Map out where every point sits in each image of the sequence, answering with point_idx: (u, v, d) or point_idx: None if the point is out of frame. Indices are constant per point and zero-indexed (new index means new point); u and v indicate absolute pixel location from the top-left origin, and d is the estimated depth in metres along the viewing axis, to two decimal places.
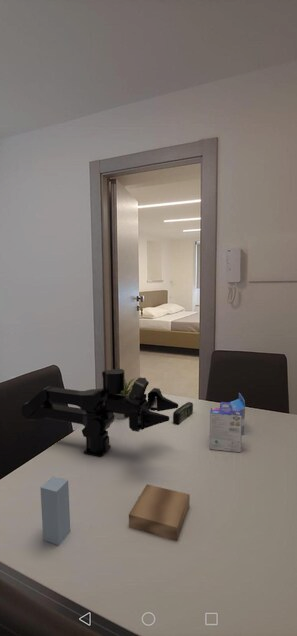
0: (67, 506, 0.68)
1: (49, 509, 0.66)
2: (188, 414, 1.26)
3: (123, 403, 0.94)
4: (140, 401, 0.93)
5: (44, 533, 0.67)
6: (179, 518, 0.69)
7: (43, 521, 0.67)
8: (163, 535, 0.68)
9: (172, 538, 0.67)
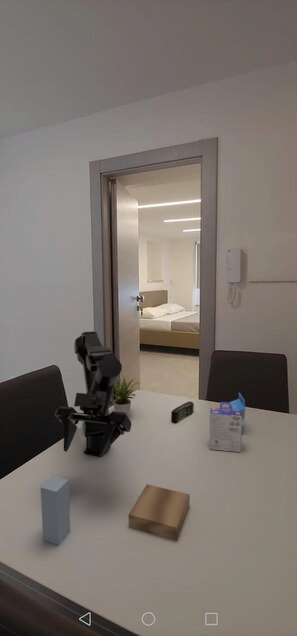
0: (67, 506, 0.68)
1: (49, 509, 0.66)
2: (188, 413, 1.27)
3: None
4: (83, 410, 0.79)
5: (44, 533, 0.67)
6: (179, 518, 0.69)
7: (43, 521, 0.67)
8: (163, 535, 0.68)
9: (172, 538, 0.67)
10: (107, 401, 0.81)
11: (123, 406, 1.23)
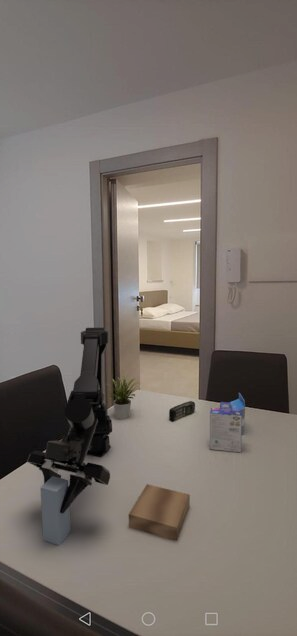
0: None
1: (49, 509, 0.66)
2: (187, 413, 1.27)
3: None
4: None
5: (44, 533, 0.67)
6: (179, 518, 0.69)
7: (43, 521, 0.67)
8: (163, 535, 0.68)
9: (172, 538, 0.67)
10: (85, 448, 0.73)
11: (123, 406, 1.23)
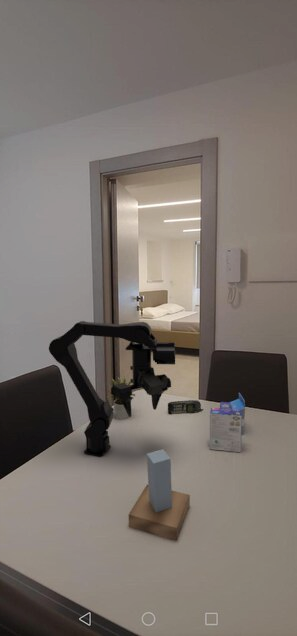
0: None
1: (162, 479, 0.70)
2: (189, 410, 1.29)
3: (137, 369, 0.95)
4: None
5: (157, 505, 0.71)
6: (179, 518, 0.69)
7: (156, 494, 0.70)
8: (163, 535, 0.68)
9: (172, 538, 0.67)
10: None
11: (123, 406, 1.23)
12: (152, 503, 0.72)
